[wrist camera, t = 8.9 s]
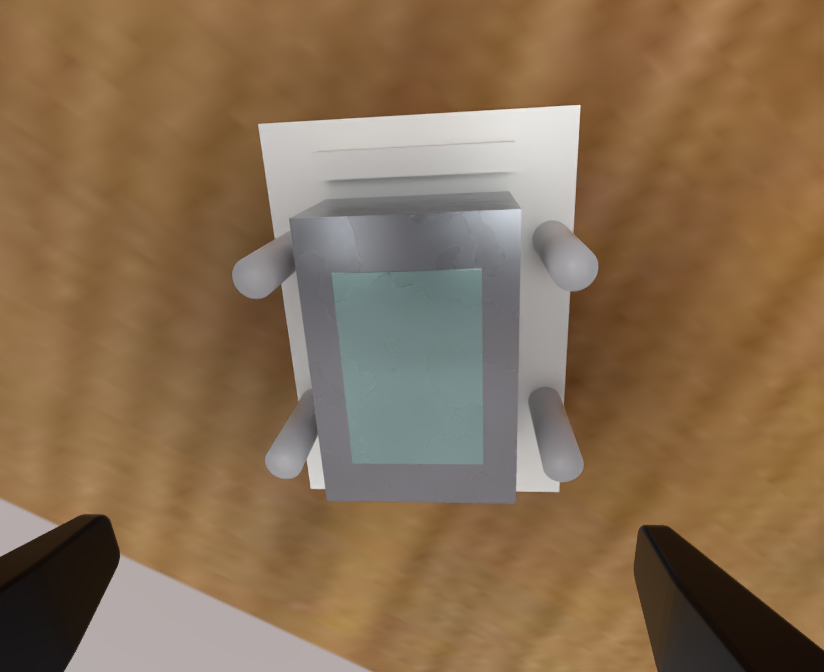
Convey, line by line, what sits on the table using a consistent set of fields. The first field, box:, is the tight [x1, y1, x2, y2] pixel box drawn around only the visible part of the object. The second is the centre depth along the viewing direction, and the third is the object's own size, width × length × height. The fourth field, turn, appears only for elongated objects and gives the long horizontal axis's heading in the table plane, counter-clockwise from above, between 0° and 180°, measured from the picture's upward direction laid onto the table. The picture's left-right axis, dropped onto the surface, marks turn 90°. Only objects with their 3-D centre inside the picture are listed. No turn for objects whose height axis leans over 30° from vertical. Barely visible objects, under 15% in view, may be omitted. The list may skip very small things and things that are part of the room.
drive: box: [289, 191, 521, 504], centre depth 17 cm, size 6×9×4 cm, turn 3°
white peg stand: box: [232, 105, 598, 492], centre depth 18 cm, size 10×14×5 cm
